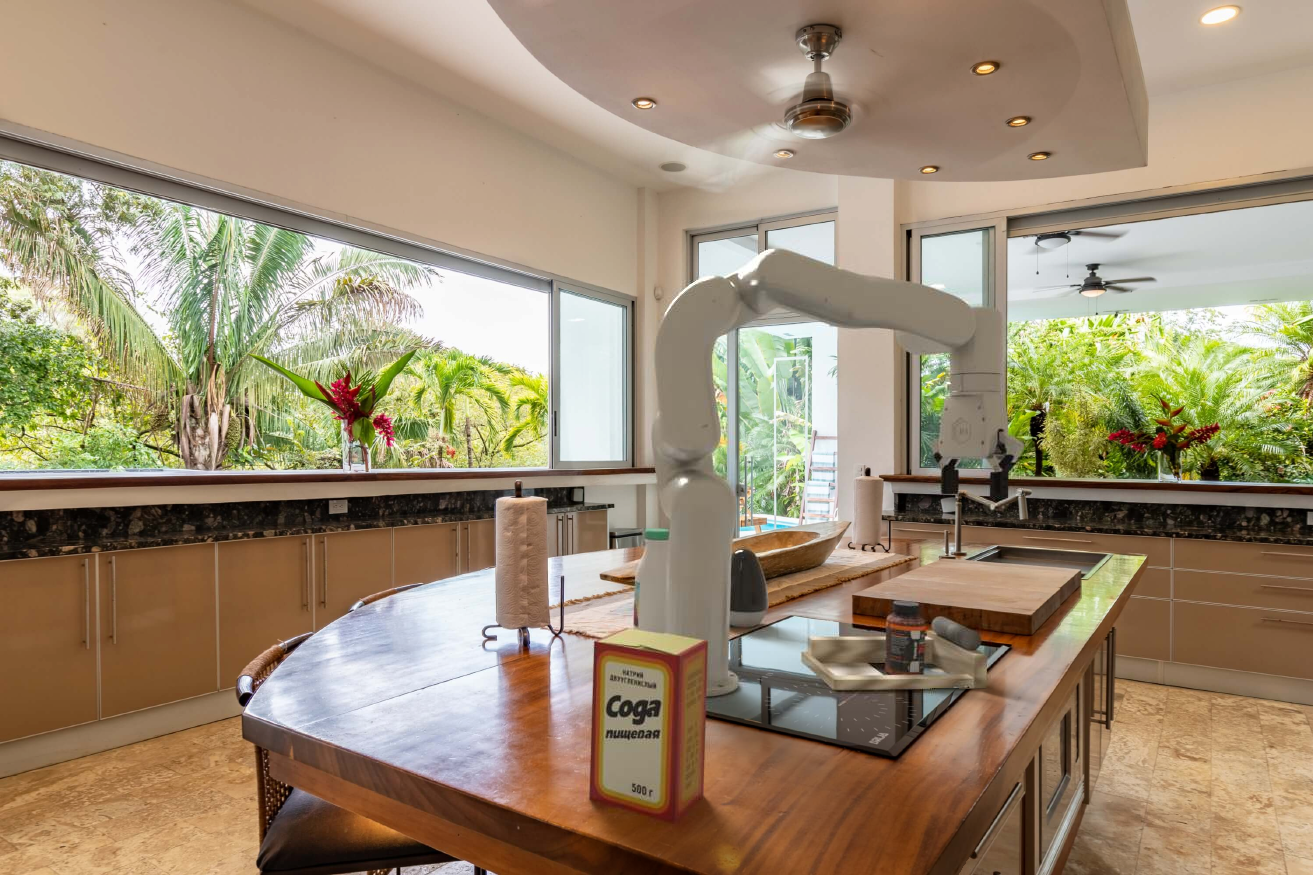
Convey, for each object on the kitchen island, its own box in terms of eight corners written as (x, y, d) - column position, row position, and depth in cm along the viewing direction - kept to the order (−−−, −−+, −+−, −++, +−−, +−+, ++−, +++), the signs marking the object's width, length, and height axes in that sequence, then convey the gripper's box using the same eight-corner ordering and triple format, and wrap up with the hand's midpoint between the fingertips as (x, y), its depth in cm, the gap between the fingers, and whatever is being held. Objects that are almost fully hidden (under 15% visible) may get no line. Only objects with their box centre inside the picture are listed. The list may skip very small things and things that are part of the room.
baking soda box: (589, 798, 75) (594, 637, 76) (622, 774, 81) (626, 624, 81) (674, 823, 71) (680, 651, 71) (703, 795, 77) (707, 637, 77)
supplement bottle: (926, 681, 118) (928, 607, 118) (886, 677, 119) (888, 605, 119) (921, 670, 123) (923, 600, 124) (883, 666, 125) (884, 597, 125)
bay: (833, 689, 112) (835, 635, 112) (801, 660, 127) (802, 612, 127) (989, 687, 115) (990, 635, 115) (940, 659, 130) (941, 612, 130)
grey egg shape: (716, 617, 157) (718, 543, 157) (767, 620, 156) (769, 546, 156) (713, 628, 147) (715, 550, 147) (767, 632, 146) (770, 552, 146)
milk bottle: (683, 639, 138) (686, 529, 138) (661, 648, 132) (664, 533, 132) (648, 632, 142) (651, 526, 143) (624, 641, 136) (627, 529, 136)
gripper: (916, 389, 126) (915, 492, 126) (1003, 382, 110) (1001, 500, 110) (950, 391, 129) (949, 492, 129) (1039, 385, 113) (1038, 500, 113)
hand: (973, 496), depth 119 cm, fingers open, 9 cm apart
